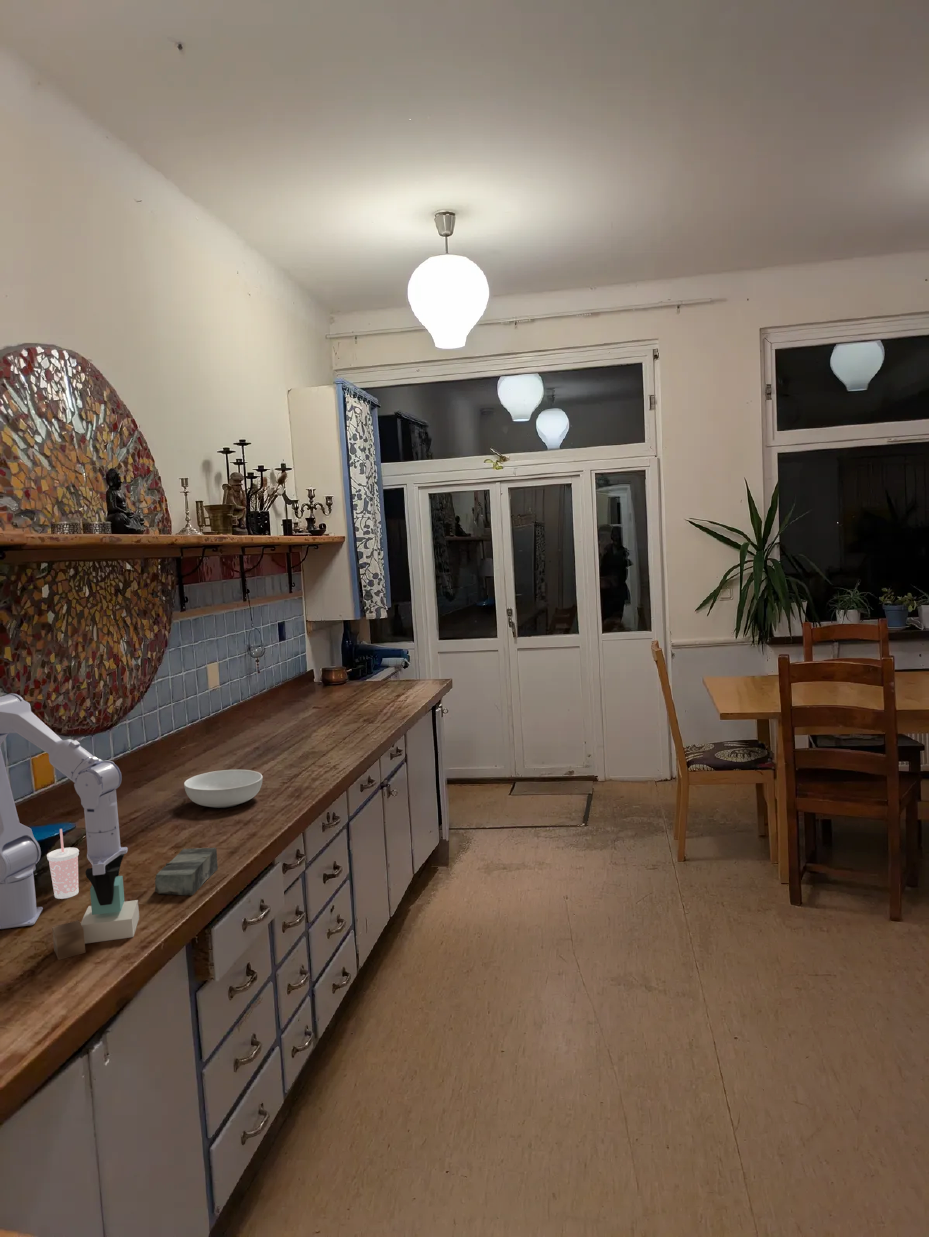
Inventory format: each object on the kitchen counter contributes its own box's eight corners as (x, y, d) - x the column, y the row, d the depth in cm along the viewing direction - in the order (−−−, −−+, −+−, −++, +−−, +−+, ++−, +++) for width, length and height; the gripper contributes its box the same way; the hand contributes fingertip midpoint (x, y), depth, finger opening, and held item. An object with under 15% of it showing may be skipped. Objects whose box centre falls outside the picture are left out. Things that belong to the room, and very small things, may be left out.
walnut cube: (58, 960, 160) (56, 935, 160) (54, 950, 164) (52, 926, 163) (85, 952, 162) (83, 928, 162) (80, 943, 166) (78, 920, 166)
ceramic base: (81, 943, 166) (79, 925, 166) (90, 923, 175) (88, 906, 174) (133, 937, 168) (131, 918, 168) (139, 917, 177) (137, 899, 176)
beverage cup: (46, 894, 190) (40, 829, 189) (75, 886, 194) (69, 822, 193) (57, 902, 186) (51, 836, 184) (87, 893, 190) (81, 828, 189)
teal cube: (92, 914, 168) (90, 888, 167) (96, 904, 173) (94, 878, 172) (120, 911, 169) (118, 885, 168) (124, 900, 174) (122, 875, 173)
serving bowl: (244, 815, 238) (242, 790, 238) (171, 814, 243) (169, 789, 242) (276, 792, 259) (274, 769, 258) (208, 791, 263) (206, 768, 262)
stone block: (151, 897, 187) (149, 872, 187) (180, 870, 202) (178, 847, 201) (193, 896, 186) (190, 872, 186) (218, 870, 201) (217, 847, 200)
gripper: (119, 838, 163) (125, 911, 164) (130, 814, 177) (135, 881, 179) (77, 842, 162) (84, 916, 163) (91, 818, 176) (97, 886, 177)
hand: (108, 898), depth 171 cm, fingers closed on teal cube, 5 cm apart
